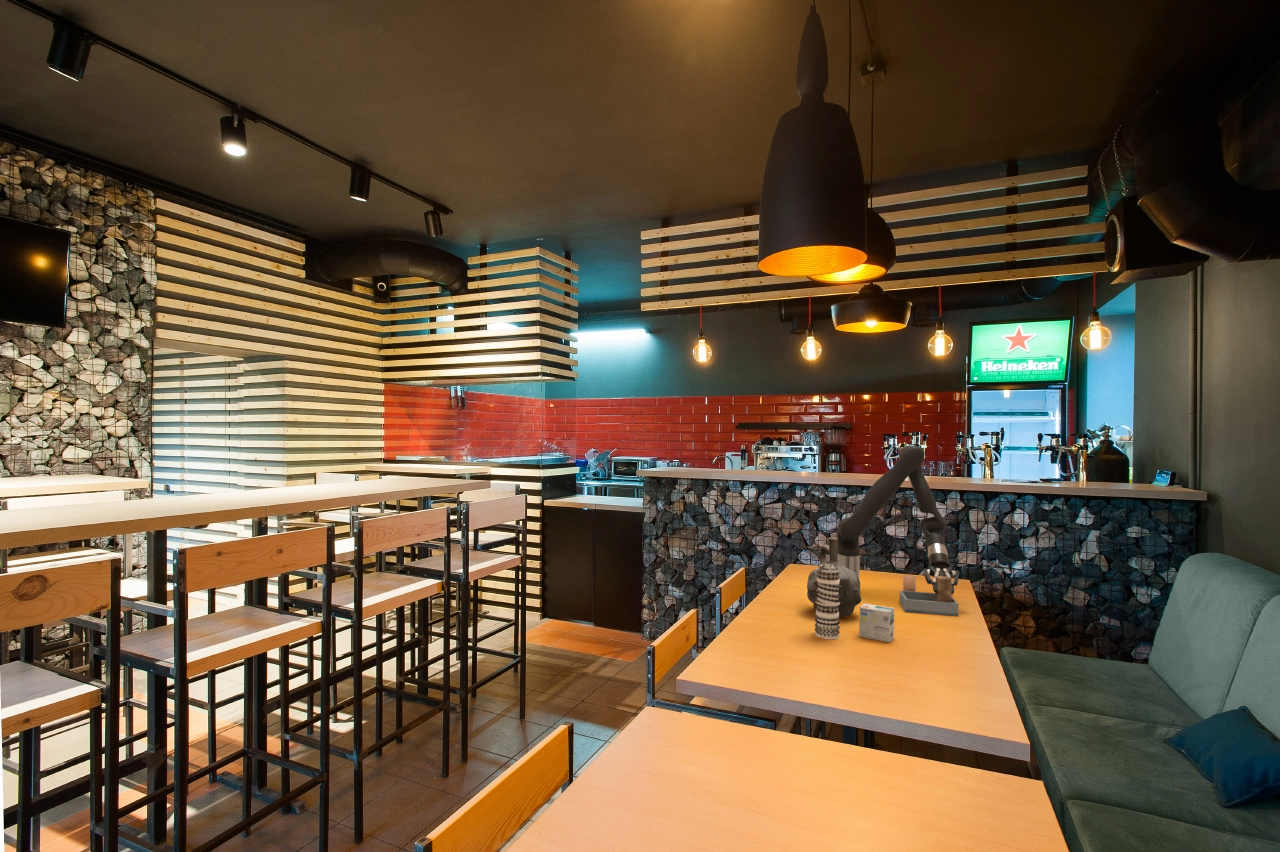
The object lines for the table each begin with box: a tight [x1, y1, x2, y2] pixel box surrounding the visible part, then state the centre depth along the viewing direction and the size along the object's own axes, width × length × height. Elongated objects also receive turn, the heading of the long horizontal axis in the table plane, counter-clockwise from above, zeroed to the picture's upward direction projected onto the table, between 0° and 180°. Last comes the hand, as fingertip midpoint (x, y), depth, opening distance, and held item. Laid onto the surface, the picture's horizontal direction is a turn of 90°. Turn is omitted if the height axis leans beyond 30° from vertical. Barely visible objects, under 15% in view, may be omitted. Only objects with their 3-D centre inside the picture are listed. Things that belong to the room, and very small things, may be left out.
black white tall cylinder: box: [814, 563, 841, 640], centre depth 229 cm, size 9×9×25 cm
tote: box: [899, 590, 959, 617], centre depth 265 cm, size 20×15×5 cm
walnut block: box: [934, 576, 953, 603], centre depth 261 cm, size 5×5×10 cm
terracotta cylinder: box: [902, 574, 917, 592], centre depth 279 cm, size 5×5×10 cm
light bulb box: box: [858, 602, 895, 643], centre depth 228 cm, size 11×7×11 cm, turn 58°
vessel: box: [806, 537, 862, 618], centre depth 257 cm, size 24×22×30 cm
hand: (944, 592), depth 259 cm, fingers closed on walnut block, 5 cm apart
